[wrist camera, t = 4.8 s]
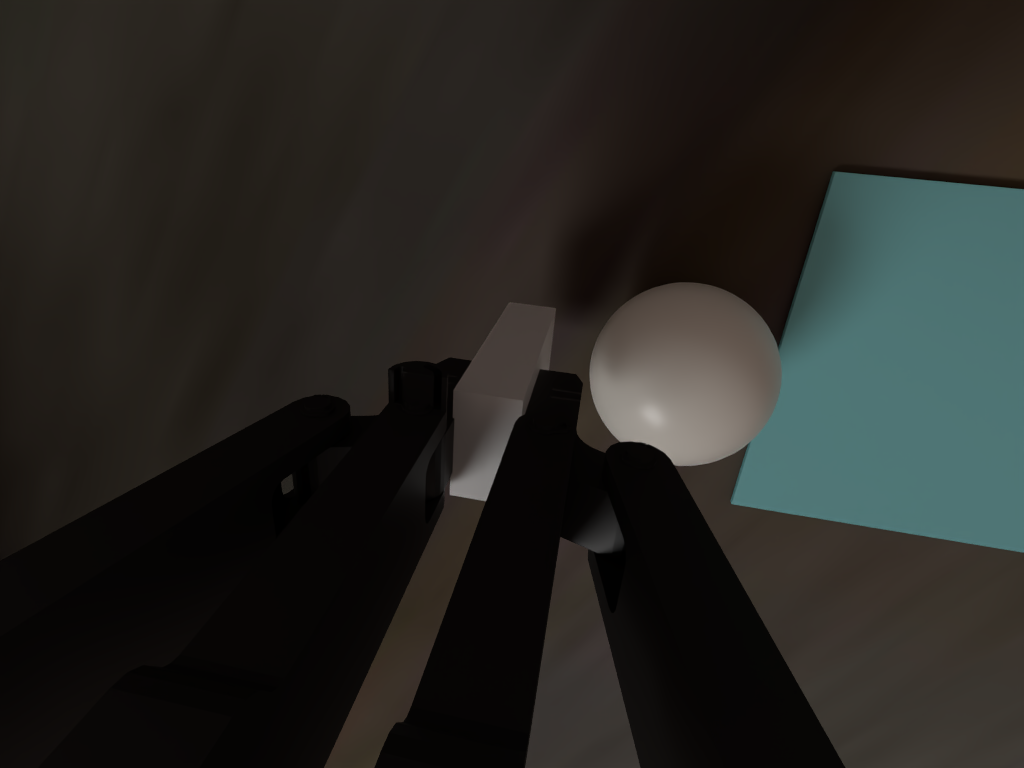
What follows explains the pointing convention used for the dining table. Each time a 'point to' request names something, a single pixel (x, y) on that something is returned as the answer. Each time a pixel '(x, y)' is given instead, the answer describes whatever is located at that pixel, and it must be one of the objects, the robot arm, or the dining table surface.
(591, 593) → the dining table surface
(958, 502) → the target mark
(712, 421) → the ball
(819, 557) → the dining table surface
